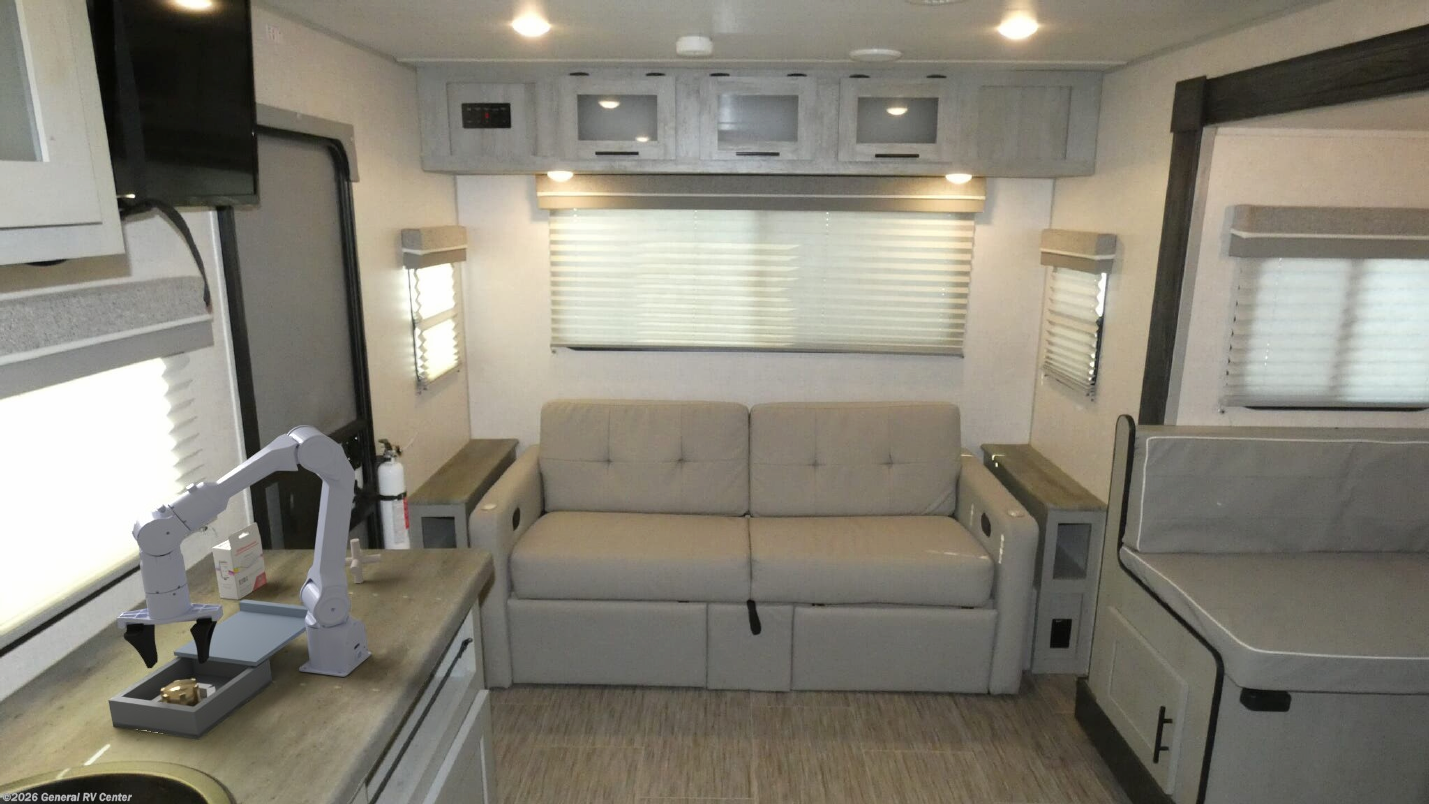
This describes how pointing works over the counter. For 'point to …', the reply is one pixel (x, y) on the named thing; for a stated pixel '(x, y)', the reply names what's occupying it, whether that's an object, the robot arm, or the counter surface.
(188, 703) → the ribbed brass cylinder
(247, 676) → the housing
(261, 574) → the ink cartridge box
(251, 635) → the lid
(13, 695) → the counter surface
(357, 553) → the pipe connector
